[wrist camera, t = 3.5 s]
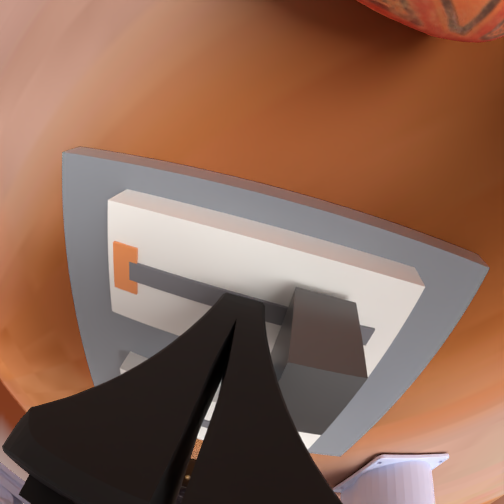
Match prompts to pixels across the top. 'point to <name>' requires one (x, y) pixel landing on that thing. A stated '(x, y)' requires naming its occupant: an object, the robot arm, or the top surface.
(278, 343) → the gray slider knob
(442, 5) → the pot
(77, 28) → the top surface
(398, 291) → the grey slider panel
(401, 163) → the top surface
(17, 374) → the top surface
